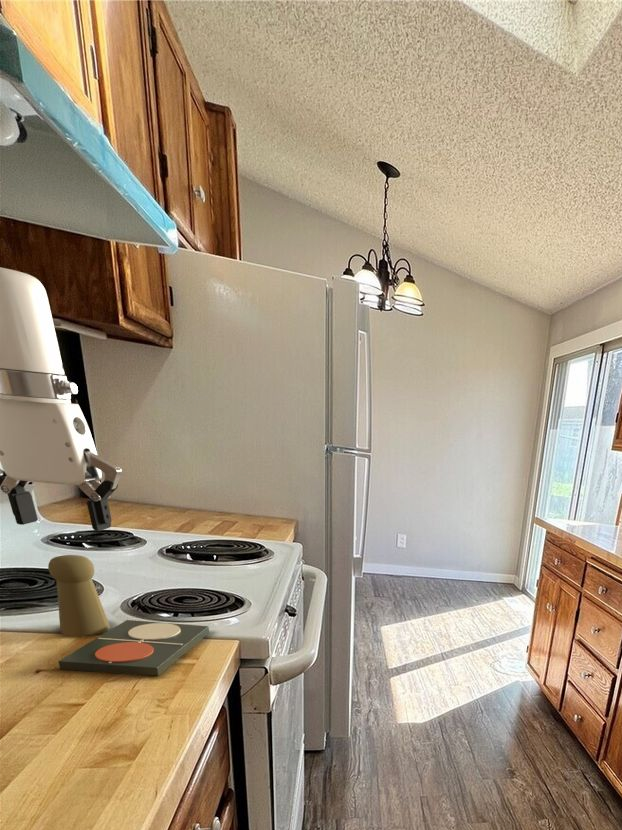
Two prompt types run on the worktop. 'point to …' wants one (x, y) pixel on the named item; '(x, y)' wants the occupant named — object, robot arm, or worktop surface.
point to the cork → (77, 596)
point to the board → (136, 648)
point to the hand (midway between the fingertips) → (65, 525)
